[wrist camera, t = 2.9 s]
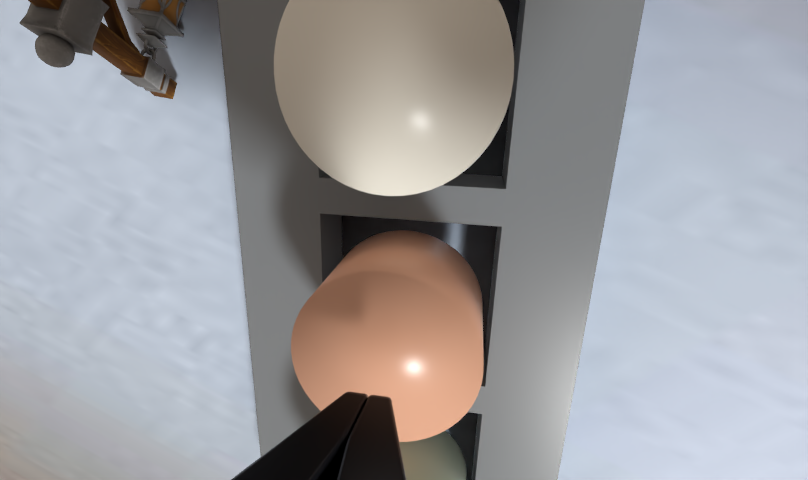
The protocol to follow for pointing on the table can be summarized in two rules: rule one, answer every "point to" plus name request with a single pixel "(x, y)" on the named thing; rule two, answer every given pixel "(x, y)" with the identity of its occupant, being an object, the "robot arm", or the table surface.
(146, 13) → the wooden post with brackets
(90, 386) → the table surface
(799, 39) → the table surface
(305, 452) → the robot arm
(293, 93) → the cream button
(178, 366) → the table surface
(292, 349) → the terracotta button
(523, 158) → the button panel
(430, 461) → the sage button
